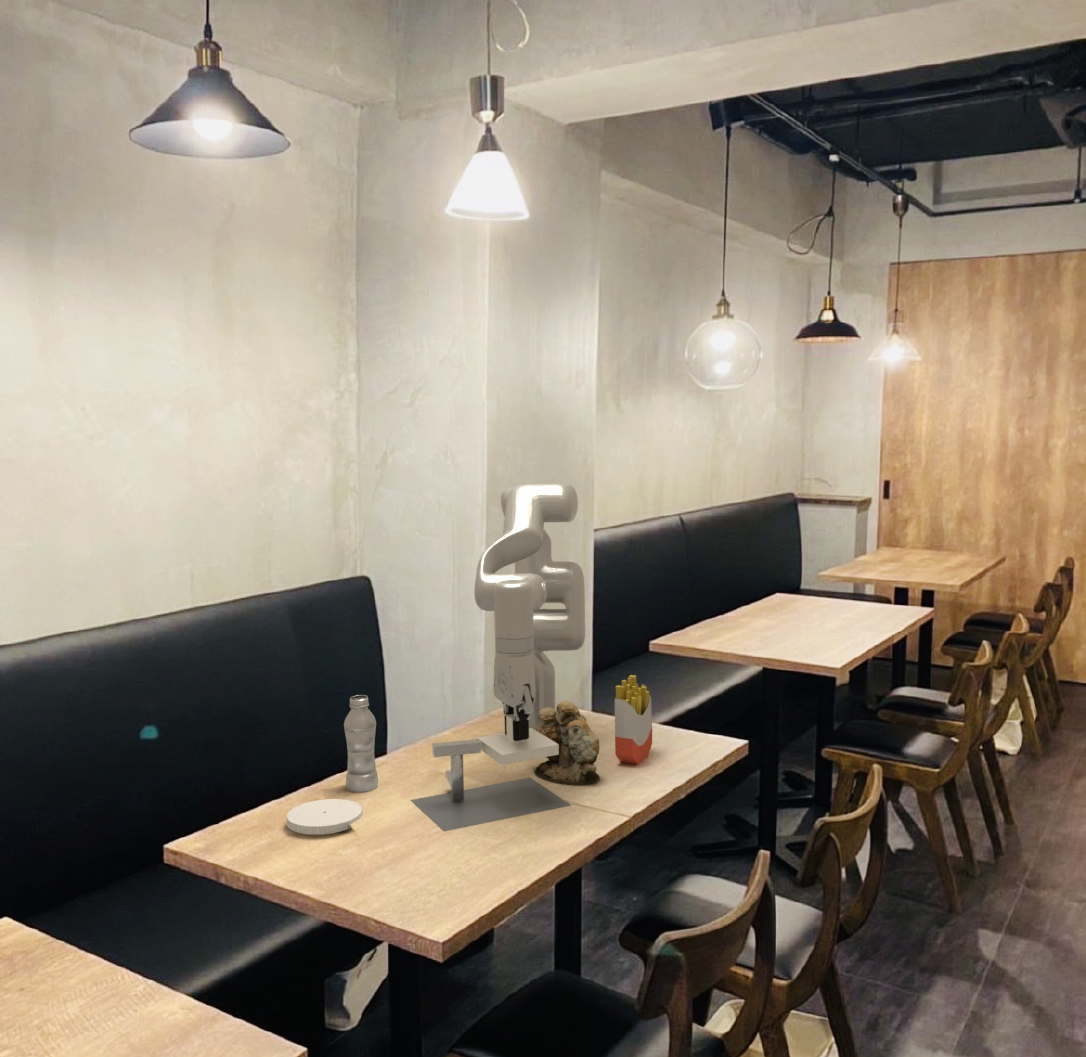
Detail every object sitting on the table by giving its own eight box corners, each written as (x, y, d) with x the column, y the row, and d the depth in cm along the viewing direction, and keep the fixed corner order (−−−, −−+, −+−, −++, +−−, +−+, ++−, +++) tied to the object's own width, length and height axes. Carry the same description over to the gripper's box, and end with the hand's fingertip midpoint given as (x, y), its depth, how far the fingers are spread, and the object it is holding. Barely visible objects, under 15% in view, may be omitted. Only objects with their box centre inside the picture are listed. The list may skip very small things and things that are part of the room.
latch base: (530, 784, 218) (530, 777, 217) (571, 812, 202) (571, 805, 201) (410, 807, 206) (410, 799, 206) (444, 839, 190) (443, 831, 190)
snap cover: (531, 737, 214) (530, 703, 213) (558, 754, 203) (558, 719, 202) (476, 747, 208) (475, 712, 208) (501, 765, 198) (500, 728, 197)
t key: (429, 789, 211) (427, 734, 209) (474, 784, 213) (472, 730, 212) (435, 803, 203) (434, 747, 202) (482, 798, 205) (480, 742, 204)
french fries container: (654, 753, 236) (653, 674, 234) (634, 768, 226) (633, 686, 225) (635, 751, 238) (634, 673, 236) (615, 765, 229) (614, 684, 227)
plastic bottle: (339, 797, 213) (335, 699, 211) (360, 786, 219) (356, 691, 216) (365, 801, 210) (361, 703, 208) (385, 791, 216) (381, 695, 213)
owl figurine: (513, 782, 220) (511, 701, 218) (548, 767, 229) (546, 690, 227) (583, 799, 209) (581, 714, 207) (617, 783, 218) (615, 701, 216)
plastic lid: (363, 809, 207) (363, 796, 206) (362, 836, 193) (361, 823, 193) (290, 814, 204) (289, 801, 204) (283, 842, 191) (283, 829, 190)
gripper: (479, 638, 209) (482, 728, 211) (514, 655, 194) (517, 752, 197) (514, 634, 212) (516, 723, 214) (551, 650, 198) (553, 745, 200)
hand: (516, 736), depth 205 cm, fingers closed on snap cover, 3 cm apart
